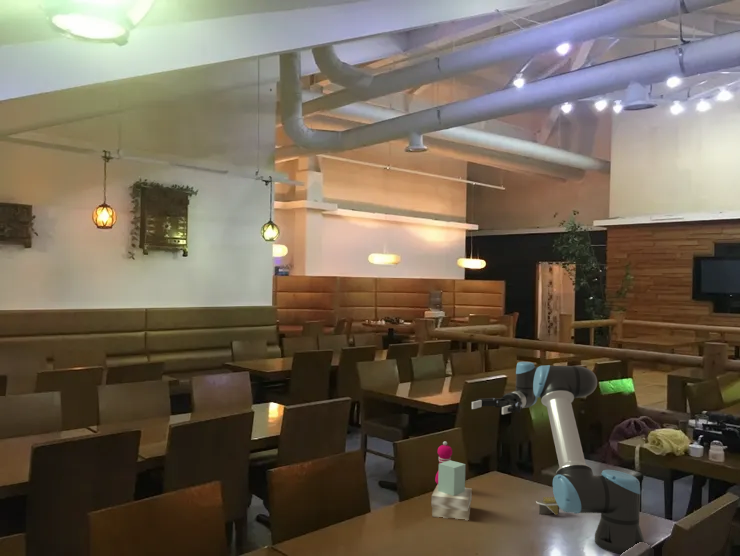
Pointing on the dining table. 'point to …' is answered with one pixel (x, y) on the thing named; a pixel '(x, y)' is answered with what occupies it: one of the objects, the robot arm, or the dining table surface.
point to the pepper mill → (443, 455)
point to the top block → (452, 500)
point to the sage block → (451, 477)
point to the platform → (548, 506)
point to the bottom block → (450, 513)
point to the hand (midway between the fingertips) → (487, 408)
